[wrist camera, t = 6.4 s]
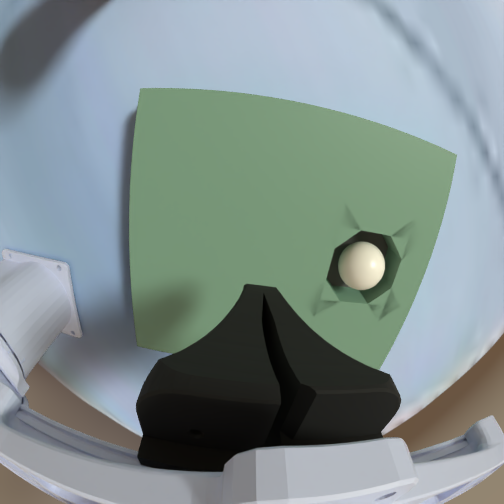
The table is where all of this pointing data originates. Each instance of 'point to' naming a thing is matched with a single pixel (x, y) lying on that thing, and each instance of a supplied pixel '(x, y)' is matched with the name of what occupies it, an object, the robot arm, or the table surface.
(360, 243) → the ball
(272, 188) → the putting board
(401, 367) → the table surface
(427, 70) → the table surface
